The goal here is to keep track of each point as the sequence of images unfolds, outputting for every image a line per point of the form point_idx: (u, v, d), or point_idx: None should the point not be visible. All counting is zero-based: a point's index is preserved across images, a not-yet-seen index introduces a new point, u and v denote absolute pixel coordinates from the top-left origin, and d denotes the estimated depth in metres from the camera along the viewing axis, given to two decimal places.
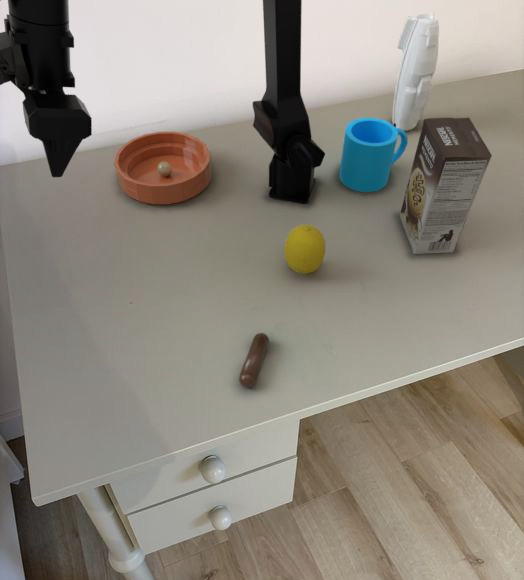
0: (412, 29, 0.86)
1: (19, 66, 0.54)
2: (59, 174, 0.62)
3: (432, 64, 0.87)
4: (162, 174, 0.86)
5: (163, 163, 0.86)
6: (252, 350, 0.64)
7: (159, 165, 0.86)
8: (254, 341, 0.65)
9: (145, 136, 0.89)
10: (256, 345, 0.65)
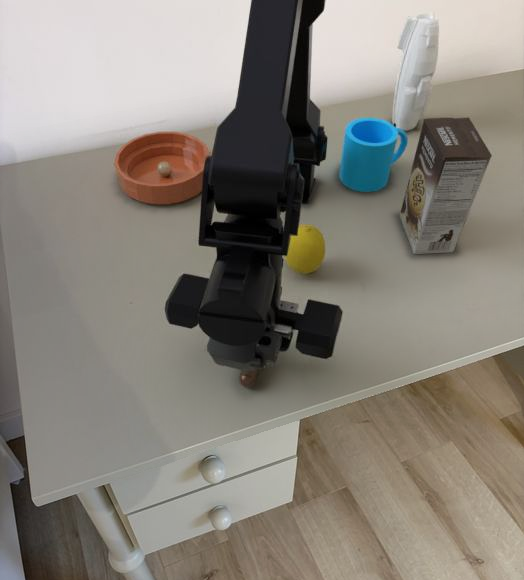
0: (412, 29, 0.86)
1: (273, 318, 0.53)
2: None
3: (432, 64, 0.87)
4: (162, 174, 0.86)
5: (163, 163, 0.86)
6: None
7: (159, 165, 0.86)
8: None
9: (145, 136, 0.89)
10: None
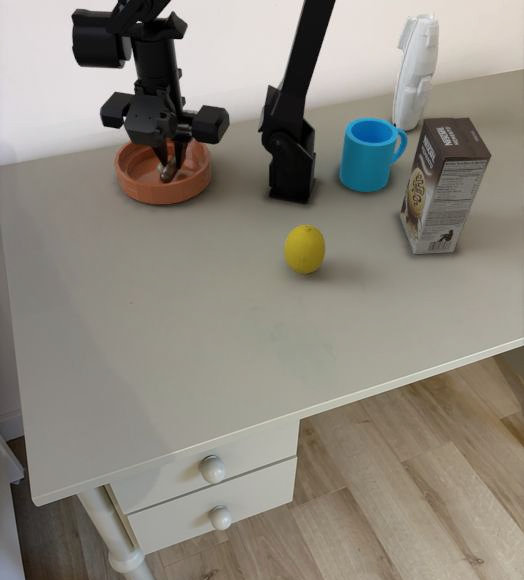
0: (412, 29, 0.86)
1: (173, 109, 0.74)
2: (181, 165, 0.85)
3: (432, 64, 0.87)
4: None
5: None
6: (171, 159, 0.85)
7: (158, 166, 0.86)
8: (174, 154, 0.86)
9: None
10: None
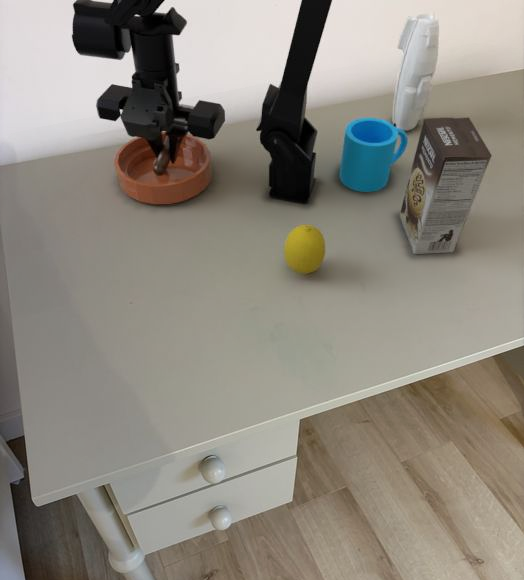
0: (412, 29, 0.86)
1: (169, 103, 0.75)
2: (175, 159, 0.86)
3: (432, 64, 0.87)
4: None
5: (154, 161, 0.87)
6: (167, 147, 0.85)
7: (153, 165, 0.87)
8: (168, 139, 0.85)
9: None
10: None
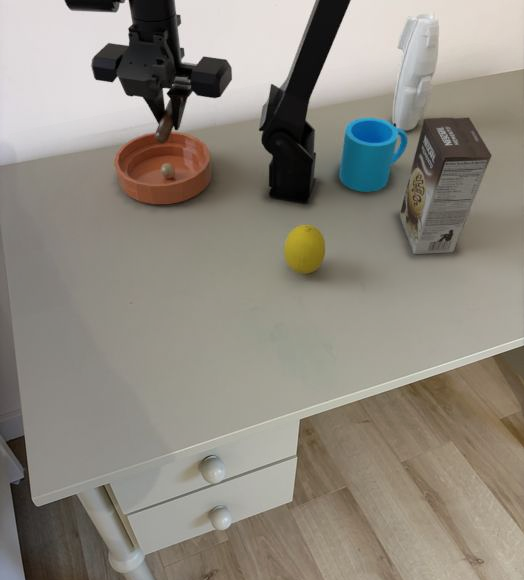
0: (412, 29, 0.86)
1: (170, 58, 0.68)
2: (179, 125, 0.79)
3: (432, 64, 0.87)
4: None
5: (167, 174, 0.86)
6: (169, 112, 0.78)
7: (163, 174, 0.86)
8: None
9: (145, 136, 0.89)
10: None
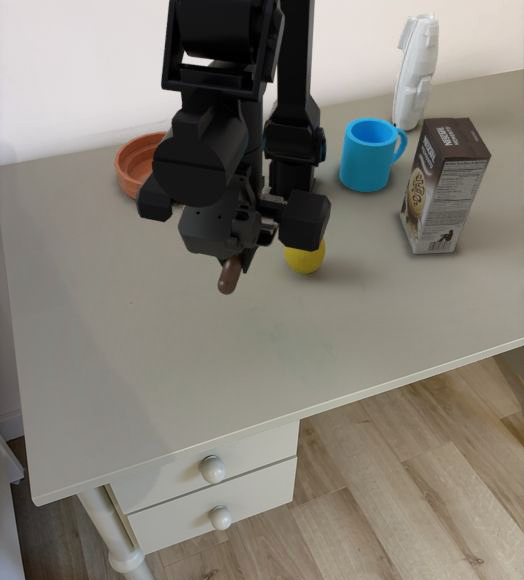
0: (412, 29, 0.86)
1: (253, 200, 0.48)
2: None
3: (432, 64, 0.87)
4: None
5: None
6: (237, 252, 0.57)
7: None
8: None
9: (145, 136, 0.89)
10: None
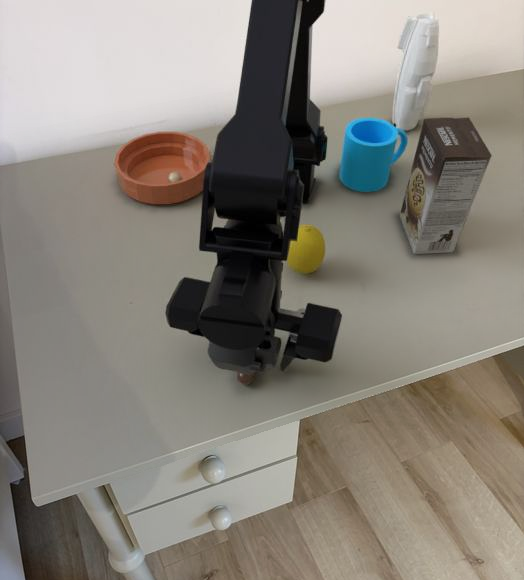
0: (412, 29, 0.86)
1: (273, 322, 0.54)
2: None
3: (432, 64, 0.87)
4: (169, 174, 0.85)
5: None
6: None
7: None
8: None
9: (145, 136, 0.89)
10: None
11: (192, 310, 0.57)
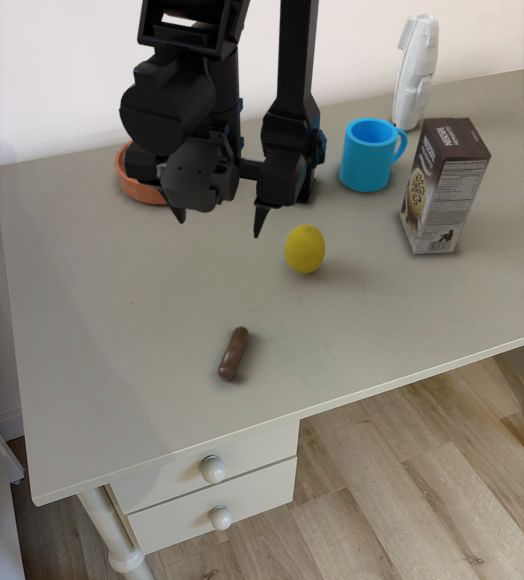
0: (412, 29, 0.86)
1: (231, 157, 0.51)
2: None
3: (432, 64, 0.87)
4: None
5: None
6: None
7: None
8: None
9: None
10: None
11: (149, 154, 0.54)
